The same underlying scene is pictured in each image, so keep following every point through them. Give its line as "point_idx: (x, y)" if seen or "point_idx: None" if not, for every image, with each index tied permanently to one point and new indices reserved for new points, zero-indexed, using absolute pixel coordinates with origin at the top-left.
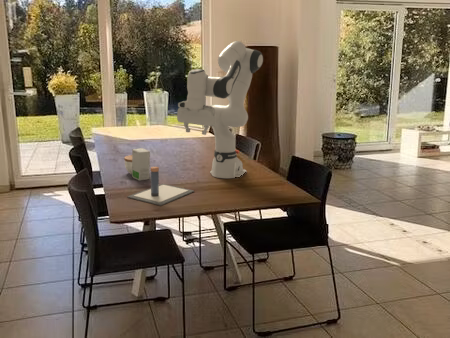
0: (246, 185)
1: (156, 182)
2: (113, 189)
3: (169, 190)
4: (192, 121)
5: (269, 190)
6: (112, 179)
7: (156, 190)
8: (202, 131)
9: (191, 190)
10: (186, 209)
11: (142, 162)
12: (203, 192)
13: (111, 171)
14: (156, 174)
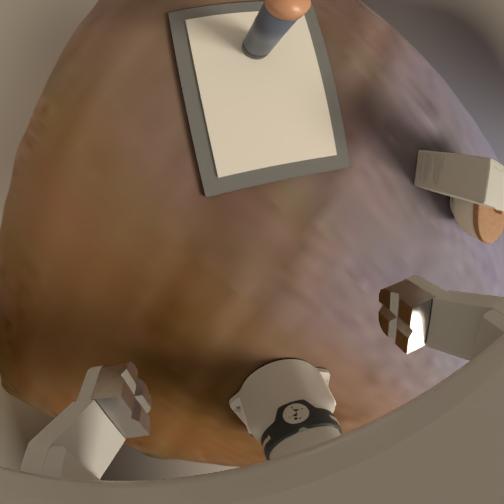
0: (154, 377)
1: (253, 22)
2: (394, 40)
3: (266, 120)
4: (413, 462)
5: None
6: (456, 112)
7: (246, 35)
8: (113, 390)
9: (214, 189)
10: (83, 58)
11: (459, 164)
12: (176, 219)
13: None
14: (262, 6)
